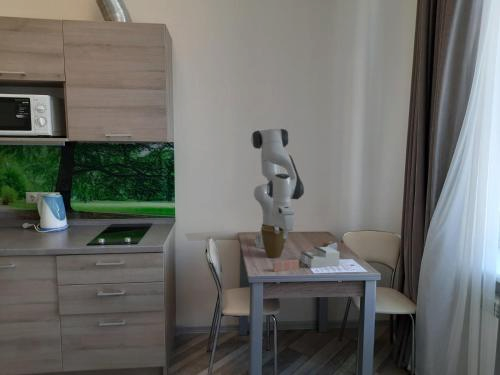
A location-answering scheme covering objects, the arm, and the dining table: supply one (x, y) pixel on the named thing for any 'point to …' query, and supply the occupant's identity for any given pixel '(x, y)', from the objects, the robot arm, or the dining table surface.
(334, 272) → the dining table surface
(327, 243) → the tin
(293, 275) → the dining table surface
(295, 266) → the brown block
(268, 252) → the plant pot
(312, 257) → the dispenser
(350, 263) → the dining table surface
